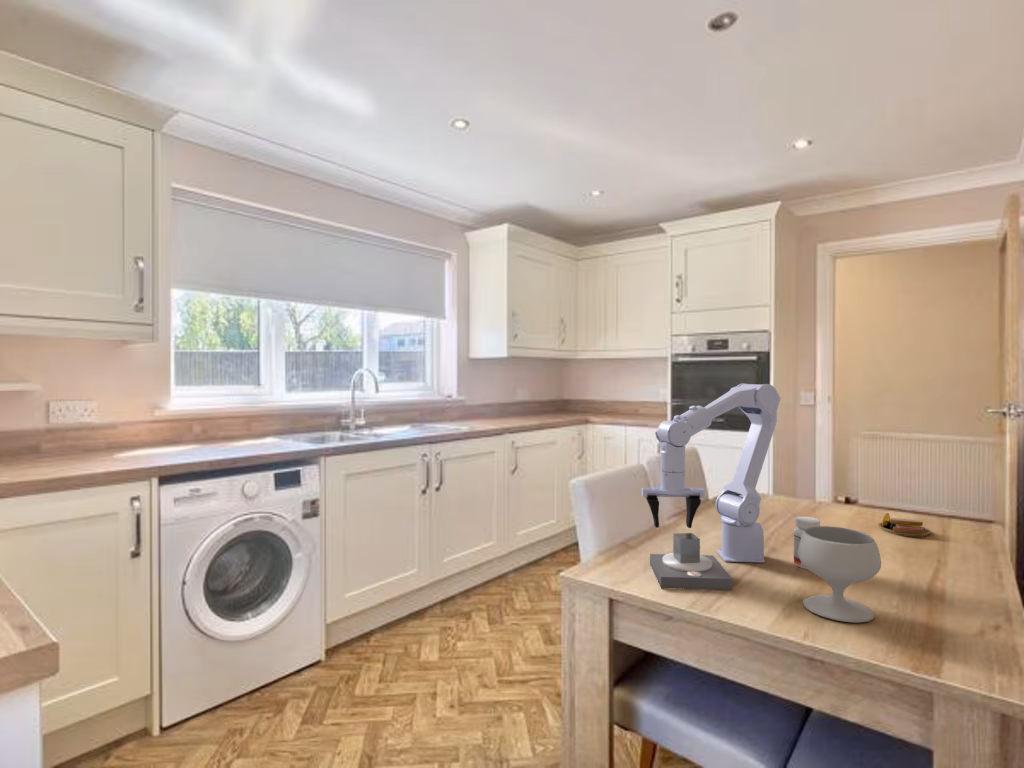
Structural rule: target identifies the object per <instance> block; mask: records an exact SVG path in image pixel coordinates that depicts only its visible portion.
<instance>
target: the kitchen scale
mask: <svg viewBox="0 0 1024 768" xmlns="http://www.w3.org/2000/svg"><path fill="white" fill-rule="evenodd" d="M649 565H650V568H651V567H652V568H651V570H652V569H653V570H652V571H653V574H654V576H655V578H657V579H656V580H658V581H657V583H658V585H659V587H661V588H660V589H665V588H677V589H676V590H679V589H678V588H682V589H681V590H700V589H710V591H733V578H732V577H731V575H730V574H729V572H728V571H727V570H726V569H725V568H724V567H723V566H722V564H721V563H720V561H718V560H717V559H716V557H715V556H714V555H712V554H710V555H708V554H707V555H706V554H700V563H680V562H679V561H677V560H676V559H675V558H674V557H673V552H670V553H666V554H664V553H650V554H649ZM683 588H684V589H683Z"/></svg>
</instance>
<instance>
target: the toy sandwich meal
mask: <svg viewBox="0 0 1024 768" xmlns="http://www.w3.org/2000/svg"><path fill="white" fill-rule="evenodd" d="M923 525H924V524H923V521H921V520H918V519H908V518H896V517H891V516H890V513H888V512H886V513H885V514H884V515H883V517H882V520H881V522H879V523H878V524H877V526H878V527H879V529H881V530H882V531H884V532H886V533H889V534H893V535H896V536H897V535H899V536H904V537H920V538H921V537H926V536H929V534H931V532H932V531H931V530H930V529H929V528H927V527H925V526H923Z"/></svg>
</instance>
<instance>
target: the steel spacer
mask: <svg viewBox="0 0 1024 768" xmlns="http://www.w3.org/2000/svg"><path fill="white" fill-rule="evenodd" d="M672 536H673V537H672V538H673V540H672V541H673V544H672V545H673V552H672V553H673V557H674V558H675V559H676V560H677V561H679V562H680V563H700V555H701V545H700V544H701V540H700V538H699V537H698V536H697V535H695V534H694V533H692V532H686V533H685V532H684V533H683V532H681V533H680V532H679V533H673V535H672Z"/></svg>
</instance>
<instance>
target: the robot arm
mask: <svg viewBox="0 0 1024 768" xmlns="http://www.w3.org/2000/svg"><path fill="white" fill-rule="evenodd" d="M780 402H781V396H780V394H779V392H778V390H777V389H776V387H774V385H772V384H770V383H764V384H755V383H753V384H752V383H743V382H742V383H739V384H738V385H736V386H734V387H731V388H730V389H729V391H726V393H724V394H723V395H721V396H719V397H718V398H717V399H714V400H713V401H712V402H710V403H708V404H707V405H705V406H704V407H703V406H702V405H691V406H689V407H688V410H687V411H685V412H683V413H682V414H680V415H678V414H676V415H674V416H673V419H672V420H668V419H667V420H664V421H662V422H661V423H660V424H659V425H658V427H657V430H656V431H655V432H654V435H655V438H656V440H657V441H658V443H659V449H660V453H659V454H660V455H659V456H660V459H659V461H660V465H659V466H660V469H659V470H660V486H654V487H641V497H642V498H646V501H647V503H648V505H649V510H650V511H651V513H652V514H651V515H652V519H653V525H654V527H655V528H657V529H658V528H660V519H659V518H660V517H659V508H660V500H659V498H685V505H686V514H685V515H686V519H685V521H686V522H685V524H686V525H685V526H686V527H687V528H688V529H692V527H693V526H692V525H693V521H694V517H695V514H696V513H697V511H698V509H699V507H700V506H701V503H702V500H701V498H702V499H705V489H704V488H702V487H687V486H686V445H687V444H688V443H689V442H690V440H691V437H693V436H695V435H696V434H698V433H700V432H702V431H704V430H705V429H707V428H709V427H710V426H711V425H712V421H713V419H715V418H716V417H719V416H721V415H723V414H725V413H727V412H729V411H731V410H733V409H735V408H737V407H738V408H739V410H741V411H742V412H743V414H744V415H745V416H746V417H747V418H748V419H749V421H750V423H751V424H750V426H749V428H748V429H749V430H748V433H747V435H746V439H745V443H744V445H743V449H742V451H741V454H740V458H739V460H738V464H737V466H736V469H735V472H734V475H733V478H732V481H730V482H728V483H727V484H725V485H723V488H722V491H721V492H720V494H719V495H718V496H717V497H716V500H715V503H714V504H715V511H716V512H717V513H718V514H719V515H720V516H719V518H720V520H721V549H716V552H717V554H718V555H719V557H720V558H722V560H723V561H724V562H725V563H728V562H729V563H730V562H731V563H732V562H733V563H735V562H736V563H765V562H766V561H765V559H764V557H765V556H764V555H765V551H764V550H765V548H764V547H765V539H764V538H765V535H764V529H763V526H762V525H761V523H760V522H757V521H758V519H759V517H760V514H761V511H760V510H761V509H760V508H761V507H760V504H761V501H762V498H761V496H760V494H759V492H758V491H757V490H756V488H757V484H758V481H759V478H760V475H761V471H762V469H763V465H764V462H765V459H766V457H767V452H768V450H769V447H770V445H771V442H772V438H773V435H774V431H775V429H776V426H777V417H778V415H777V413H778V411H777V410H778V408H779V405H780ZM658 497H659V498H658Z"/></svg>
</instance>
